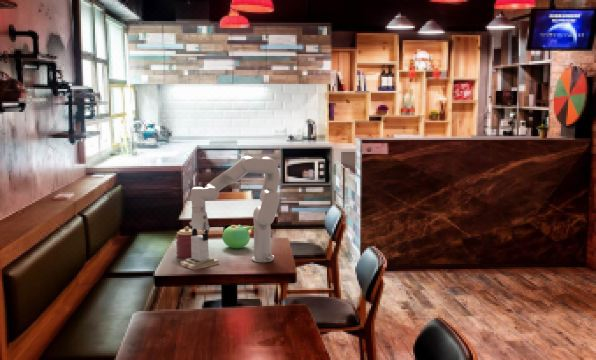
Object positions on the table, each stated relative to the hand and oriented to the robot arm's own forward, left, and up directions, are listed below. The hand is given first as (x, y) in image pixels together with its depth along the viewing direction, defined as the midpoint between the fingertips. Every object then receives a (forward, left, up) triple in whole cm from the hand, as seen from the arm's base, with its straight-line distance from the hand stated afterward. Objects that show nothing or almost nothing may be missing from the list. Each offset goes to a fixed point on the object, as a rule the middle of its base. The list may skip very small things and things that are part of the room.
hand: (200, 239), depth 360 cm
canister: (+20, -5, -15) cm, 26 cm away
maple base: (0, +1, -15) cm, 15 cm away
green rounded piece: (+13, -38, -15) cm, 43 cm away
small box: (0, 0, -12) cm, 12 cm away
